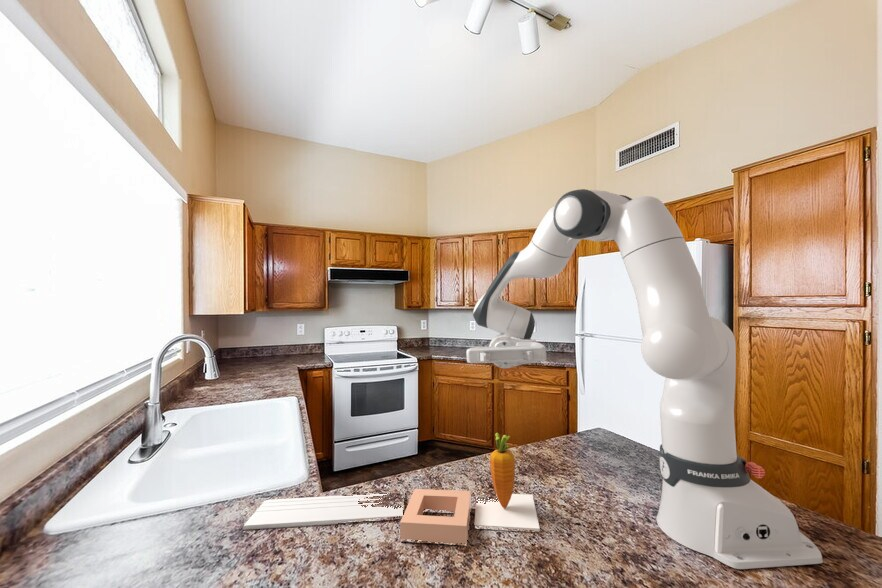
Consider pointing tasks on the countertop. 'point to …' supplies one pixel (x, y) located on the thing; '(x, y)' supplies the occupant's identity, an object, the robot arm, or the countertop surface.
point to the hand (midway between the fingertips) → (506, 357)
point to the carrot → (502, 471)
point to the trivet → (508, 513)
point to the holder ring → (437, 526)
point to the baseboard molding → (317, 511)
